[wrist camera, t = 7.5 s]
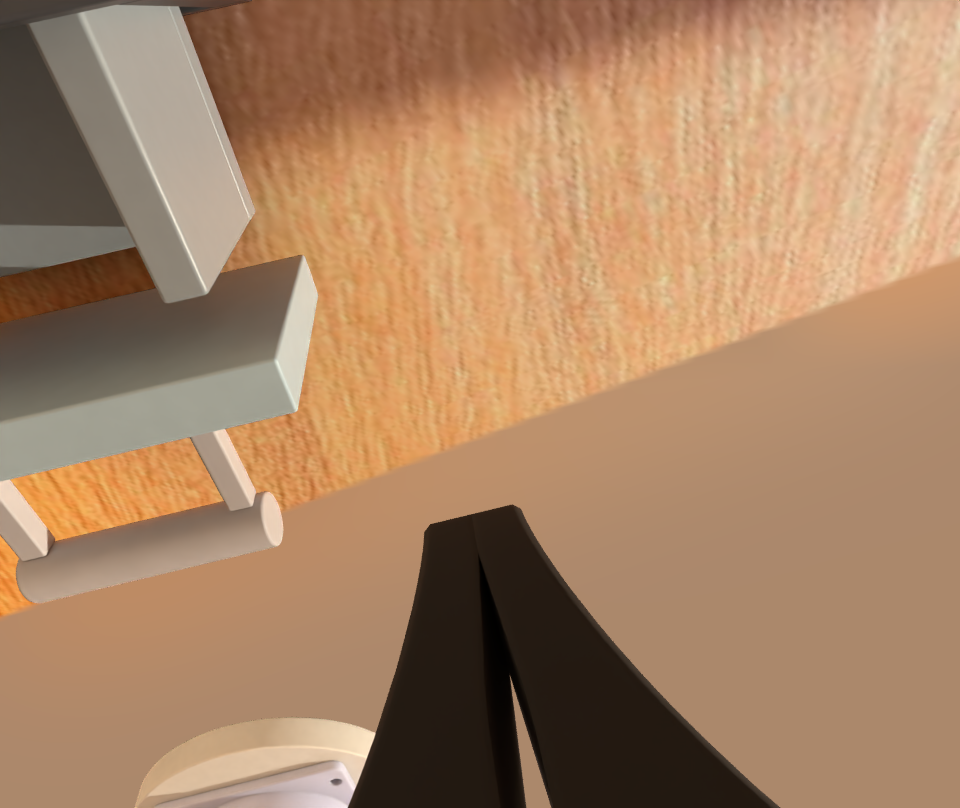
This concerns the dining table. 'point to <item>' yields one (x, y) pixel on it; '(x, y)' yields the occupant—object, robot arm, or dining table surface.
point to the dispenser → (90, 8)
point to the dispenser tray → (138, 316)
